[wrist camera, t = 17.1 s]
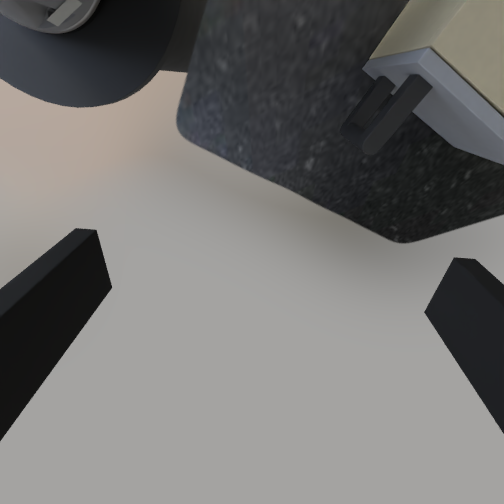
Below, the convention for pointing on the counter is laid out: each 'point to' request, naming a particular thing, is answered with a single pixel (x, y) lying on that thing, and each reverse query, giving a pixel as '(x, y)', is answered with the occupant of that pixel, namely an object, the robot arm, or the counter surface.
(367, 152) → the oven door
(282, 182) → the counter surface
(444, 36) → the oven
